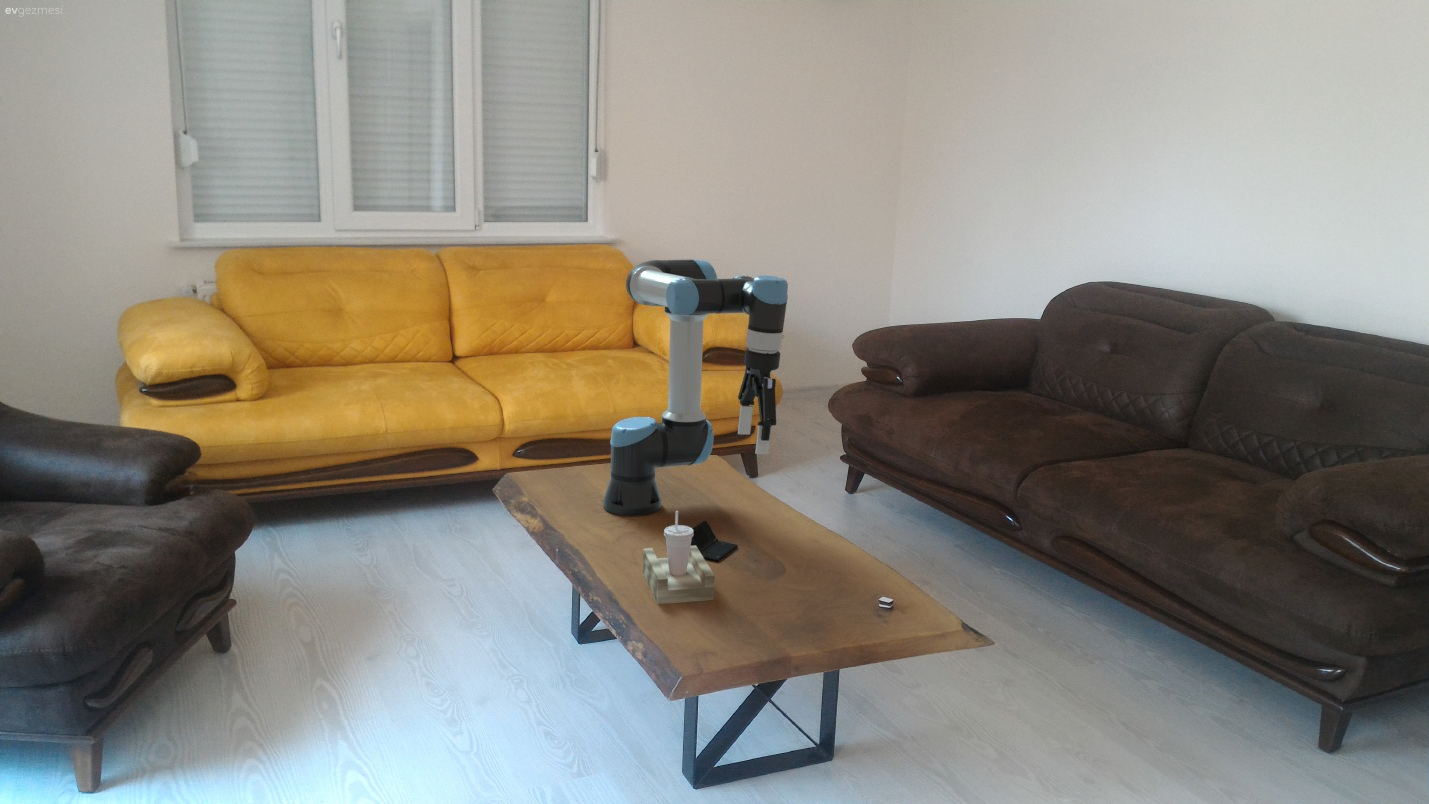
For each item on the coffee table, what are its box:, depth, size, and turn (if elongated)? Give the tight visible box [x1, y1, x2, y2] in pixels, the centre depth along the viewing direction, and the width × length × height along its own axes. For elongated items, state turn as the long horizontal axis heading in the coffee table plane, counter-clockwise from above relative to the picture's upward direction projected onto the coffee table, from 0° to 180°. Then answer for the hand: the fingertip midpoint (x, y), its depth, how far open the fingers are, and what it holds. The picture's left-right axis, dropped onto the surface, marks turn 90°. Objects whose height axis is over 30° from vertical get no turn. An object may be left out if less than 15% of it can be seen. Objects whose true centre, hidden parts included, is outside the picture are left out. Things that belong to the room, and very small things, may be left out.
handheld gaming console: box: [691, 519, 738, 563], centre depth 240 cm, size 12×7×10 cm
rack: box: [642, 546, 716, 605], centre depth 220 cm, size 17×12×6 cm
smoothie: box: [663, 510, 694, 576], centre depth 219 cm, size 6×6×14 cm
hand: (752, 443), depth 223 cm, fingers open, 13 cm apart
